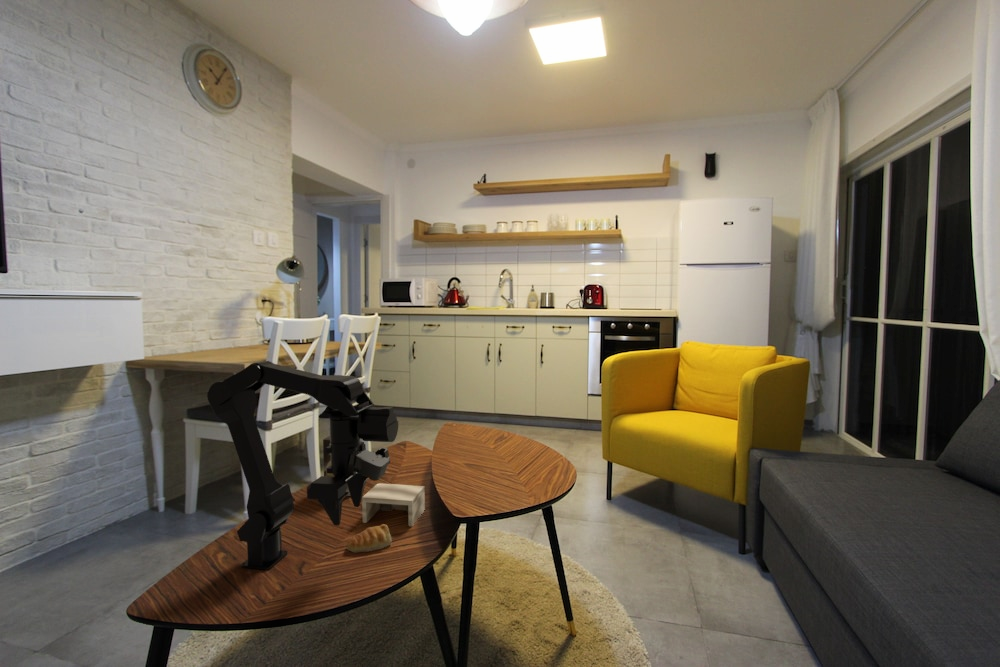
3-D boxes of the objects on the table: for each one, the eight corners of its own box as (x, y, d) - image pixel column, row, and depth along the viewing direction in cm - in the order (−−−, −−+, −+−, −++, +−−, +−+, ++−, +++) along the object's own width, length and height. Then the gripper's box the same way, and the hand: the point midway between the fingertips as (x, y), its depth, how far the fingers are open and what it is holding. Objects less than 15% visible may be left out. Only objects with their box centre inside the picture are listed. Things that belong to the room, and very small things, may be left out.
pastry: (351, 559, 95) (350, 542, 95) (343, 545, 101) (343, 529, 101) (394, 546, 101) (393, 529, 100) (384, 534, 106) (383, 518, 106)
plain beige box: (412, 526, 109) (412, 500, 109) (362, 522, 111) (362, 497, 111) (424, 510, 118) (424, 486, 118) (378, 506, 120) (378, 483, 120)
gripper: (361, 456, 80) (363, 542, 81) (400, 428, 98) (402, 498, 99) (303, 454, 82) (306, 537, 82) (353, 427, 100) (355, 495, 101)
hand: (347, 515), depth 91 cm, fingers open, 8 cm apart
